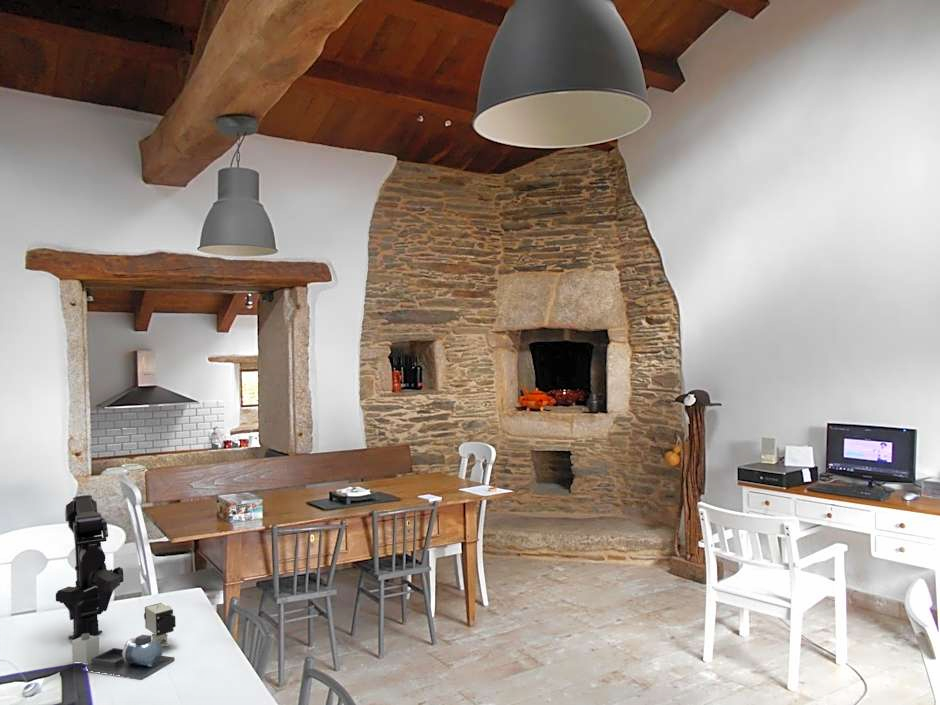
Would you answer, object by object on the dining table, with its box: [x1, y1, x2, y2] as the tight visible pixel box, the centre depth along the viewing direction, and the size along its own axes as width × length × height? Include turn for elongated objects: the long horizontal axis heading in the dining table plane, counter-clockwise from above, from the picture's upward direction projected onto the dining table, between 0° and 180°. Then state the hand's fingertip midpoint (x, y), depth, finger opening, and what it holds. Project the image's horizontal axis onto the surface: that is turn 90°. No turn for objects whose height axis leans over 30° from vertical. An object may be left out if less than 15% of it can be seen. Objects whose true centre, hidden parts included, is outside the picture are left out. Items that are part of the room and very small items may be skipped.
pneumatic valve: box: [143, 602, 177, 648], centre depth 213 cm, size 6×12×12 cm, turn 44°
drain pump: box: [71, 633, 101, 665], centre depth 204 cm, size 5×4×7 cm
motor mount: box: [85, 634, 176, 681], centre depth 199 cm, size 20×12×8 cm, turn 71°
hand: (91, 616), depth 204 cm, fingers open, 9 cm apart
